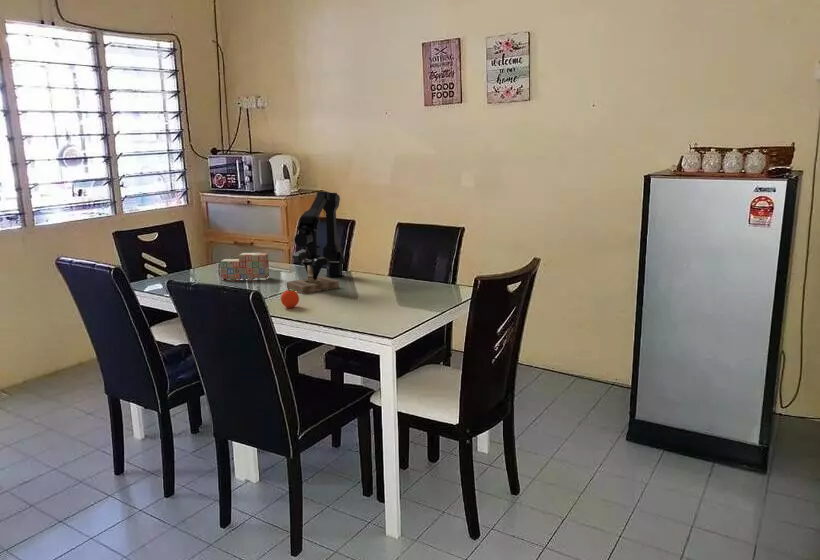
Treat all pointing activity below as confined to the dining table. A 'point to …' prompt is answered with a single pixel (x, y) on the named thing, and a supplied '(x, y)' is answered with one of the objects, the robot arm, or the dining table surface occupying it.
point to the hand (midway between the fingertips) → (312, 278)
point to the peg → (310, 275)
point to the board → (313, 285)
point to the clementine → (290, 298)
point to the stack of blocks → (246, 266)
